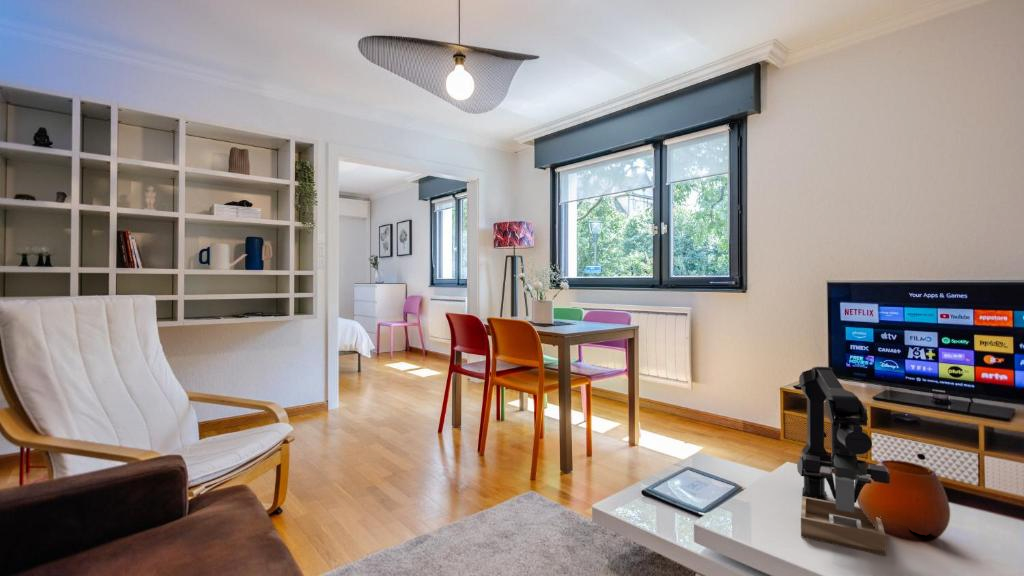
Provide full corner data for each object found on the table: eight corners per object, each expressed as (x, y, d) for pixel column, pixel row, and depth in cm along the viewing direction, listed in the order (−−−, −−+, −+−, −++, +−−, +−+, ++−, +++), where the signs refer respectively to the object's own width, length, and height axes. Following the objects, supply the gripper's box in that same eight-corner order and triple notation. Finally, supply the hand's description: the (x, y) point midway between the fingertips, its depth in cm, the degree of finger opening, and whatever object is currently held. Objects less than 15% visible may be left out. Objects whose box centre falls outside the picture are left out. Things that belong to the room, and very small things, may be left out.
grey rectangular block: (835, 503, 130) (834, 474, 130) (853, 507, 128) (853, 477, 128) (835, 509, 127) (835, 479, 127) (854, 512, 125) (854, 482, 125)
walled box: (802, 513, 141) (802, 496, 141) (878, 528, 132) (878, 510, 132) (801, 536, 128) (800, 517, 128) (886, 556, 118) (885, 535, 118)
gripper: (802, 444, 126) (803, 503, 126) (892, 457, 116) (893, 521, 116) (803, 433, 135) (803, 488, 135) (886, 444, 125) (887, 504, 125)
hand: (844, 500), depth 128 cm, fingers closed on grey rectangular block, 4 cm apart
